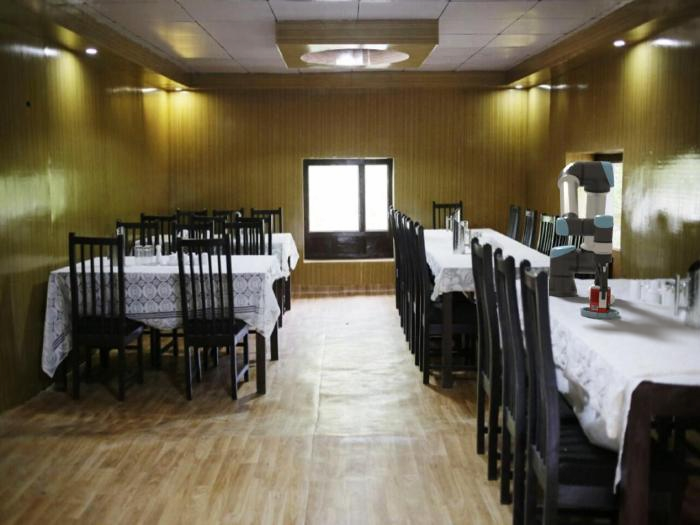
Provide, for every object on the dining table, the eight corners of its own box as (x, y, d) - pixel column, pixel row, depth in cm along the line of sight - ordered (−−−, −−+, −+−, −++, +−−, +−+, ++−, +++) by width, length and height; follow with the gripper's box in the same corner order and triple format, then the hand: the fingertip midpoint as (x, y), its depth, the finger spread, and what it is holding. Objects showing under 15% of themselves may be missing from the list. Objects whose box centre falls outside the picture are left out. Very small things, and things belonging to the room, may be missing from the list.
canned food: (611, 315, 315) (612, 288, 314) (590, 314, 316) (591, 287, 315) (608, 312, 322) (609, 285, 321) (588, 311, 324) (589, 285, 323)
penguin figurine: (588, 283, 349) (615, 286, 347) (585, 302, 350) (612, 305, 348) (590, 285, 342) (618, 288, 341) (587, 304, 344) (615, 307, 342)
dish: (578, 311, 328) (578, 306, 328) (615, 312, 325) (615, 307, 325) (583, 318, 313) (583, 312, 313) (621, 319, 311) (621, 314, 310)
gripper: (588, 249, 329) (586, 299, 331) (597, 255, 305) (594, 309, 307) (607, 250, 327) (604, 300, 330) (617, 256, 304) (614, 310, 306)
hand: (599, 304), depth 319 cm, fingers open, 12 cm apart
